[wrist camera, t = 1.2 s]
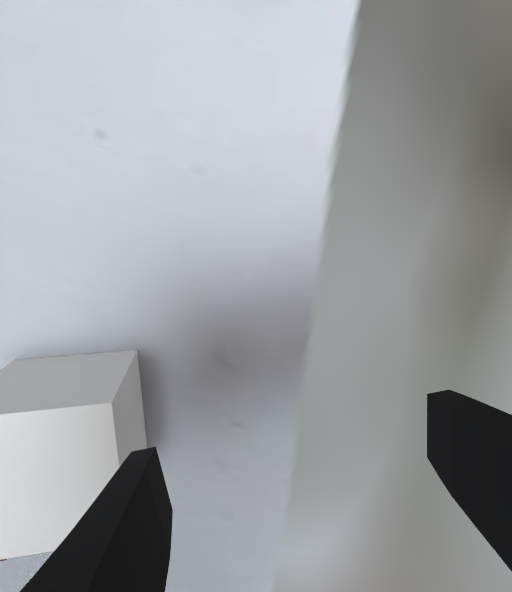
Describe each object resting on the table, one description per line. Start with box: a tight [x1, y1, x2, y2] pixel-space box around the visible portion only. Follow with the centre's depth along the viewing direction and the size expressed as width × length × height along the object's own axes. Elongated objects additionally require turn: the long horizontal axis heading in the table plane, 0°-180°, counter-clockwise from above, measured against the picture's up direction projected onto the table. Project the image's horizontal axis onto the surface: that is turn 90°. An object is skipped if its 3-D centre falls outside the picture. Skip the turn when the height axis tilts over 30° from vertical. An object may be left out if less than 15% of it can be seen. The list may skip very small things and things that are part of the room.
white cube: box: [0, 350, 147, 560], centre depth 16 cm, size 6×6×6 cm
